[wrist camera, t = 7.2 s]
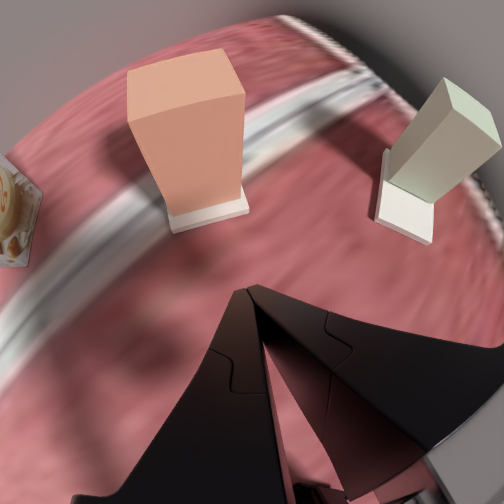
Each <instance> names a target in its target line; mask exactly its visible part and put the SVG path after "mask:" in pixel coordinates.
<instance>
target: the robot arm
mask: <svg viewBox="0 0 504 504" xmlns="http://www.w3.org/2000/svg"><path fill="white" fill-rule="evenodd" d="M263 344H264V346H265V348H266V350H267V352H268V353H269V355H270V357H271V359H272V360H273V362H274V364H275V366H276V367H277V369H278V371H279V373H280V374H281V376H282V378H283V380H284V381H285V383H286V385H287V387H288V388H289V390H290V392H291V393H292V395H293V397H294V399H295V400H296V402H297V404H298V405H299V407H300V409H301V410H302V412H303V414H304V416H305V417H306V419H307V421H308V422H309V424H310V425H311V427H312V429H313V430H314V432H315V434H316V435H317V437H318V439H319V440H320V442H321V443H322V445H323V447H324V448H325V450H326V452H327V454H328V456H329V458H330V460H331V462H332V464H333V466H334V469H335V471H336V473H337V475H338V478H339V480H340V482H341V484H342V487H343V489H344V491H345V492H340V491H339V490H336V489H330V488H325V487H321V486H317V487H314V486H309V485H305V484H301V483H296V484H294V485H293V486H292V483H291V479H290V474H289V470H288V465H287V460H286V455H285V450H284V445H283V441H282V436H281V431H280V426H279V421H278V416H277V411H276V406H275V401H274V396H273V391H272V386H271V381H270V376H269V371H268V366H267V361H266V355H265V350H264V346H263ZM297 487H300V488H298V489H296V488H297ZM372 491H374V493H375V495H376V497H377V499H378V501H379V503H380V504H504V343H503V344H502V345H501V346H498V347H495V348H484V347H479V346H473V345H468V344H462V343H457V342H452V341H447V340H442V339H437V338H432V337H427V336H422V335H418V334H413V333H409V332H404V331H400V330H395V329H391V328H386V327H382V326H378V325H374V324H370V323H366V322H362V321H358V320H355V319H351V318H348V317H345V316H342V315H339V314H336V313H334V312H331V311H330V312H329V311H327V310H324V309H322V308H319V307H316V306H313V305H311V304H308V303H305V302H303V301H300V300H297V299H295V298H292V297H289V296H287V295H284V294H282V293H279V292H276V291H274V290H271V289H269V288H266V287H263V286H261V285H258V284H257V285H253V286H250V287H247V289H245V288H243V289H239V290H235V291H234V292H233V294H232V297H231V299H230V301H229V303H228V306H227V308H226V310H225V312H224V315H223V317H222V319H221V321H220V324H219V326H218V328H217V330H216V333H215V335H214V337H213V339H212V341H211V344H210V346H209V348H208V350H207V352H206V354H205V356H204V358H203V360H202V362H201V364H200V366H199V368H198V370H197V372H196V374H195V375H194V377H193V379H192V380H191V382H190V384H189V385H188V387H187V388H186V390H185V392H184V393H183V395H182V396H181V398H180V399H179V401H178V402H177V404H176V405H175V407H174V409H173V410H172V412H171V413H170V415H169V416H168V418H167V419H166V421H165V422H164V424H163V425H162V427H161V428H160V430H159V431H158V433H157V434H156V436H155V437H154V439H153V440H152V442H151V443H150V445H149V446H148V448H147V449H146V451H145V452H144V454H143V455H142V457H141V458H140V460H139V461H138V463H137V464H136V466H135V467H134V469H133V470H132V472H131V473H130V475H129V476H128V477H127V479H126V480H125V482H124V483H123V485H122V486H121V487H120V488H119V490H118V491H116V492H115V493H113V494H112V495H109V496H102V497H99V496H91V495H83V494H76V495H73V496H72V499H71V503H70V504H348V502H347V500H349V501H353V500H355V499H357V498H359V497H361V496H363V495H365V494H368V493H370V492H372ZM344 496H345V497H344Z"/></svg>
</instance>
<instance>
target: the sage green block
mask: <svg viewBox="0 0 504 504" xmlns="http://www.w3.org/2000/svg"><path fill="white" fill-rule="evenodd" d="M501 148H502V145H501V142H500V139H499V135H498V133H497V130H496V127H495V124H494V121H493V118H492V116H491V113H490V111H489V110H487V109H486V108H485V107H484V106H483V105H481V104H480V103H479V102H478V101H476V100H475V99H474V98H473V97H471V96H470V95H469V94H467V93H466V92H465V91H463V90H462V89H460V88H459V87H458V86H456V85H455V84H453V83H452V82H450V81H449V80H447V79H446V78H444V77H443V78H442V80H441V81H440V83H439V84H438V85H437V87H436V88H435V90H434V91H433V93H432V94H431V95H430V97H429V98H428V100H427V101H426V102H425V104H424V105H423V106H422V108H421V109H420V111H419V112H418V113H417V115H416V116H415V117H414V119H413V120H412V121H411V123H410V124H409V125H408V127H407V128H406V129H405V131H404V132H403V133H402V135H401V136H400V137H399V139H398V140H397V141H396V143H395V144H394V145H393V147H392V148H391V158H390V171H389V182H391V183H393V184H395V185H397V186H399V187H401V188H403V189H405V190H407V191H408V192H410V193H412V194H414V195H416V196H418V197H420V198H422V199H424V200H425V201H427V202H429V203H431V204H433V203H434V202H435V201H437V200H438V199H439V198H441V197H442V196H443V195H445V194H446V193H447V192H448V191H450V190H451V189H452V188H454V187H455V186H456V185H457V184H459V183H460V182H461V181H462V180H464V179H465V178H466V177H467V176H469V175H470V174H471V173H472V172H474V171H475V170H476V169H477V168H478V167H480V166H481V165H482V164H483V163H484V162H486V161H487V160H488V159H489V158H490V157H492V156H493V155H494V154H495V153H496V152H497V151H498V150H500V149H501Z"/></svg>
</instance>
